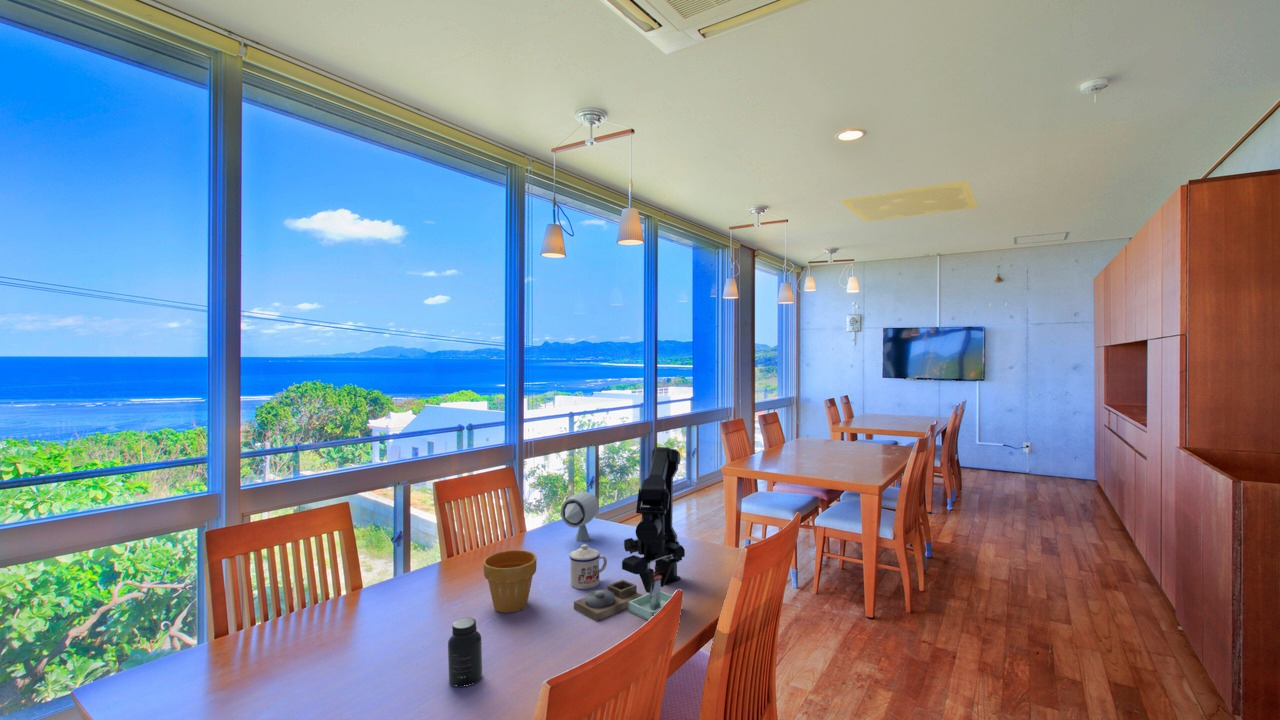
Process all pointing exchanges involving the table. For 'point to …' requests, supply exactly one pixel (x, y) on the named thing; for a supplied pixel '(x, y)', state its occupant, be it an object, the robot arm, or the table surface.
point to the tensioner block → (607, 600)
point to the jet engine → (580, 513)
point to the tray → (646, 605)
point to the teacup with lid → (585, 567)
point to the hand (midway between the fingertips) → (654, 589)
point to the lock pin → (655, 591)
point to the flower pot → (510, 578)
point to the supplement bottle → (464, 653)
